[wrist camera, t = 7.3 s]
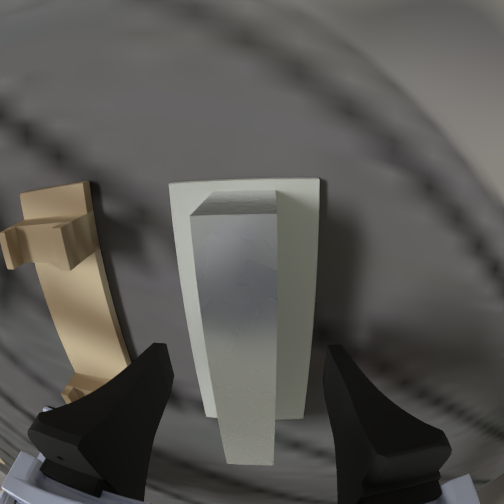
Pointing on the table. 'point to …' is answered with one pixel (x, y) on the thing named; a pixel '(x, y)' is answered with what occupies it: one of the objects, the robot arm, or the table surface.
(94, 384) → the rack
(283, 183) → the mat
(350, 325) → the table surface
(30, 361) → the table surface
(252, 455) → the rail
